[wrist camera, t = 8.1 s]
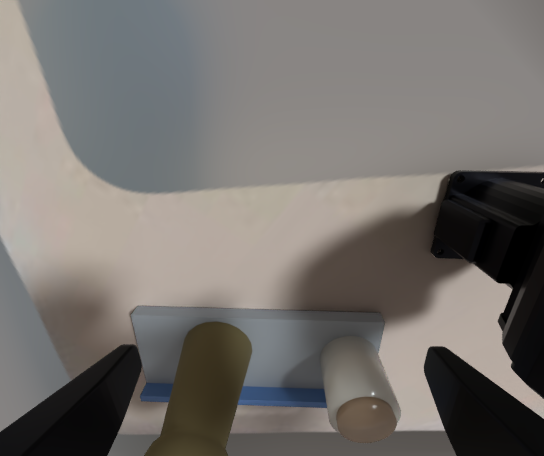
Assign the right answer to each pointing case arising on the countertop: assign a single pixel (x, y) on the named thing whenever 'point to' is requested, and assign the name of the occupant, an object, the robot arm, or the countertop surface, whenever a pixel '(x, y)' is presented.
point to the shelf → (253, 348)
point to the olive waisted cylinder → (204, 392)
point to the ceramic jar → (358, 390)
